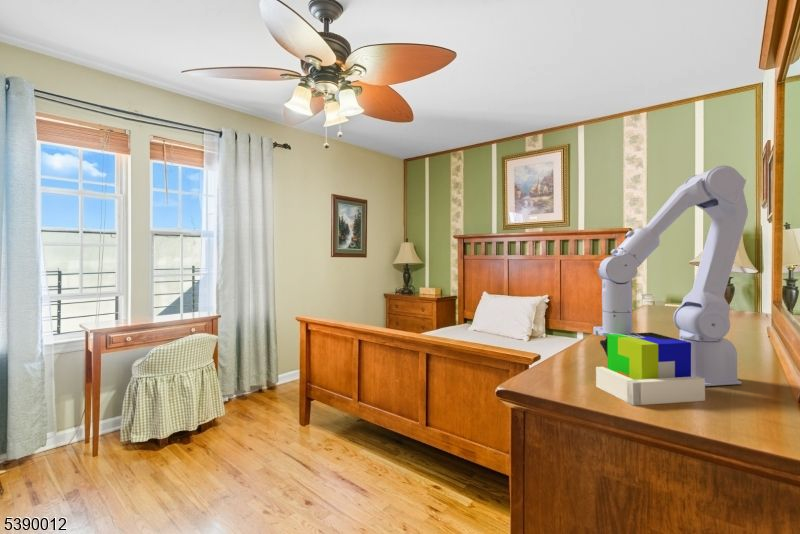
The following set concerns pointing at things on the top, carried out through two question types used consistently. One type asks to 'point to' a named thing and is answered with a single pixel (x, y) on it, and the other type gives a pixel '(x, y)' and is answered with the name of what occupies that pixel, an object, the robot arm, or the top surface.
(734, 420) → the top surface
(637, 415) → the top surface
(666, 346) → the puzzle toy
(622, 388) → the corner walls
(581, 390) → the top surface
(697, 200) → the robot arm
